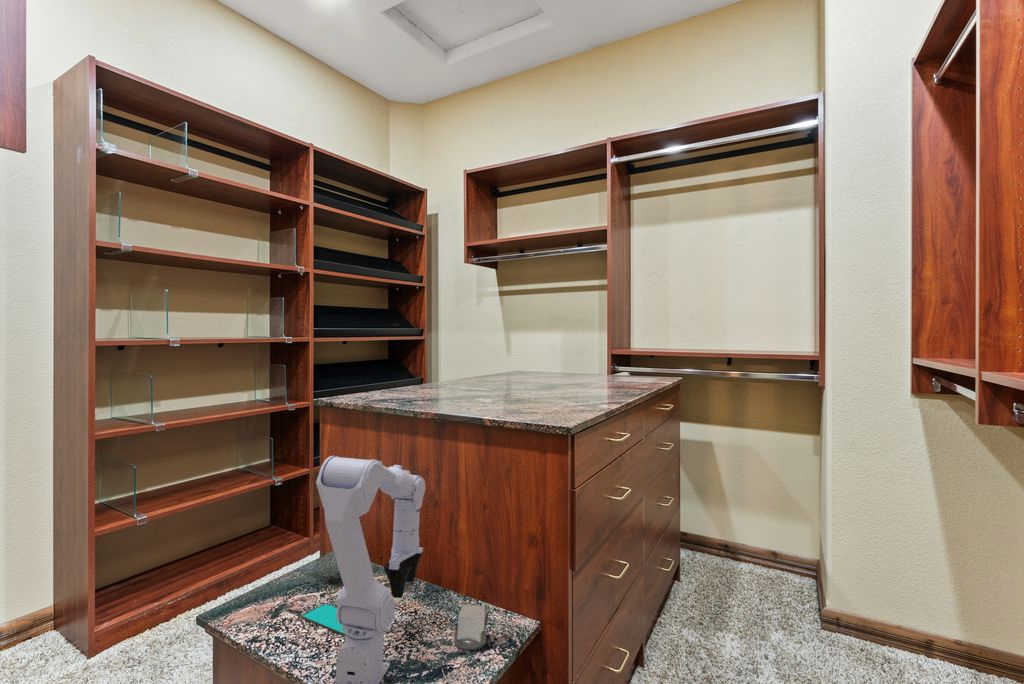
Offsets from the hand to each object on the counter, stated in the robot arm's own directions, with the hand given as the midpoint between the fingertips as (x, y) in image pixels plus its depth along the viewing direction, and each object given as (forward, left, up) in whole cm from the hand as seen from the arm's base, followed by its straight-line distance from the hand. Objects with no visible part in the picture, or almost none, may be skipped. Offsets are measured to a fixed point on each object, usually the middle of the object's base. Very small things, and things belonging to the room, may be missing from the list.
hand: (403, 588), depth 107 cm
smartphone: (+2, +17, -10) cm, 20 cm away
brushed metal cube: (-1, -16, -8) cm, 18 cm away
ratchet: (+3, -16, -9) cm, 19 cm away
